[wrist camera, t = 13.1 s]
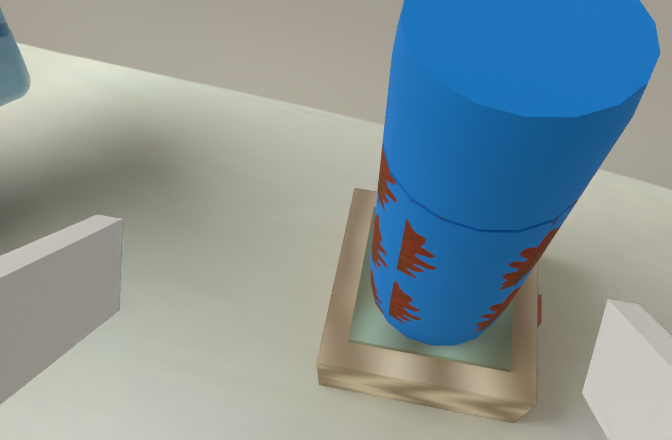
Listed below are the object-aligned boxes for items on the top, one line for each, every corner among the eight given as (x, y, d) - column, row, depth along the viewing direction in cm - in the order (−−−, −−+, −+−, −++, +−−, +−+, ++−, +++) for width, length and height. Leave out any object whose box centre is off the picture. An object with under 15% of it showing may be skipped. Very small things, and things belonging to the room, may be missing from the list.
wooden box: (319, 384, 47) (316, 359, 41) (353, 223, 55) (354, 184, 49) (521, 424, 45) (547, 404, 40) (525, 251, 53) (547, 214, 48)
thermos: (496, 224, 47) (626, -55, 26) (516, 348, 42) (703, 122, 20) (366, 224, 47) (390, -56, 26) (369, 347, 42) (402, 120, 20)
